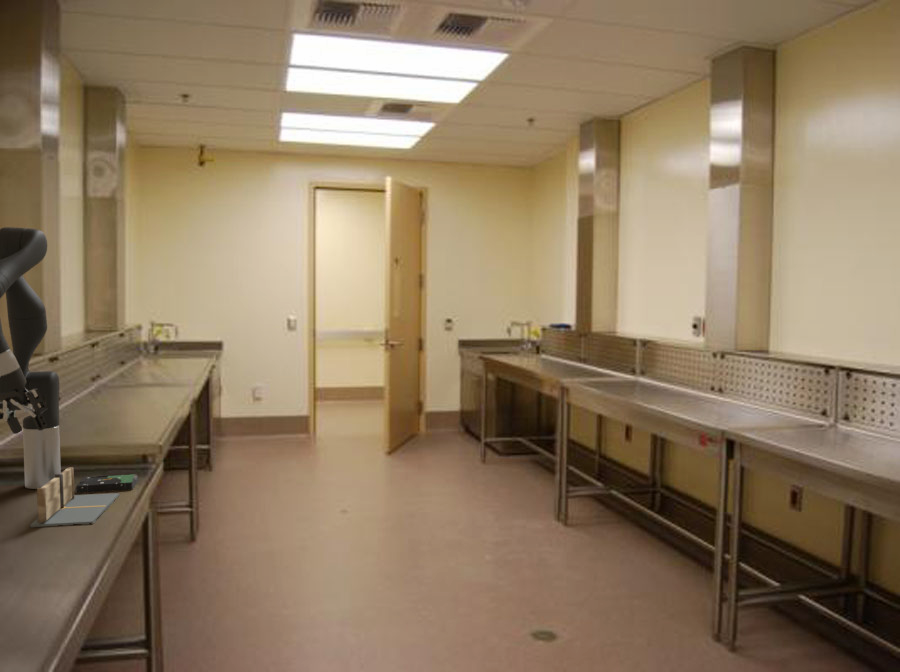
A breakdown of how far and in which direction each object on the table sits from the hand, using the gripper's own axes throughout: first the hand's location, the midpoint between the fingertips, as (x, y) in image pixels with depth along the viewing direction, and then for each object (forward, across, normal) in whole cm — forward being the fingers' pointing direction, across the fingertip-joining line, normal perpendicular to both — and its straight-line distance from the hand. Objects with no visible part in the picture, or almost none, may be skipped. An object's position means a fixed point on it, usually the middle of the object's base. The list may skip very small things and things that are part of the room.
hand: (30, 430), depth 180 cm
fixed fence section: (+24, +5, -4) cm, 25 cm away
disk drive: (+30, +9, -21) cm, 38 cm away
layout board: (+24, -1, -2) cm, 24 cm away
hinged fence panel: (+21, -1, +6) cm, 22 cm away
